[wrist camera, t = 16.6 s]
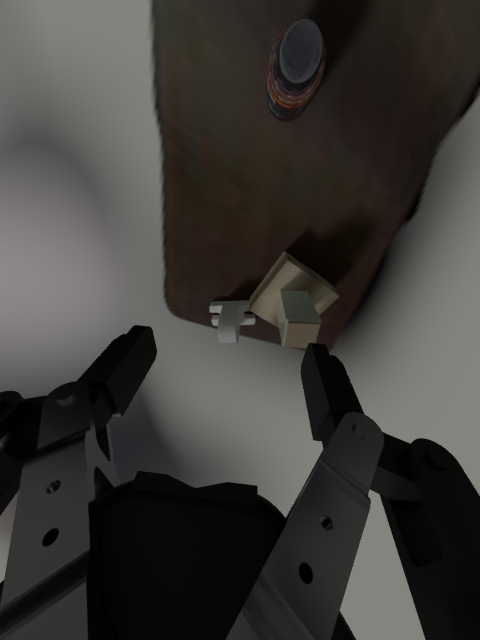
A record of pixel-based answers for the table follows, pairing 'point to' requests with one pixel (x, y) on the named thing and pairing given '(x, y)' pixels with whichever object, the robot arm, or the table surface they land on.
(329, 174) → the table surface
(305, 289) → the beech block
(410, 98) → the table surface
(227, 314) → the cable organizer
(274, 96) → the supplement bottle
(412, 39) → the table surface
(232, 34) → the table surface
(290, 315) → the sage canister
